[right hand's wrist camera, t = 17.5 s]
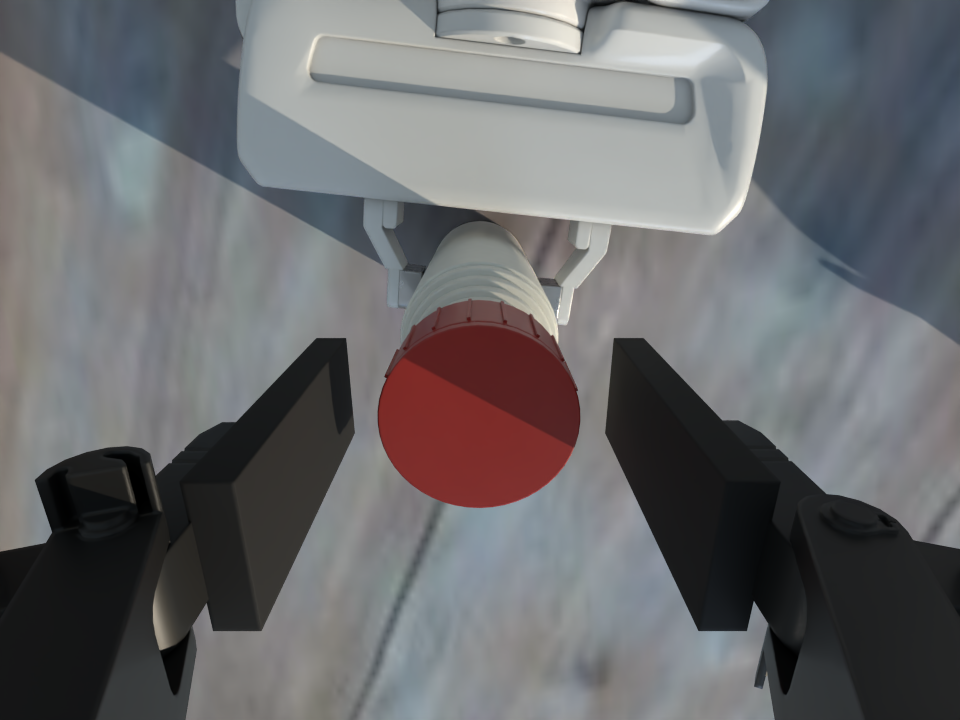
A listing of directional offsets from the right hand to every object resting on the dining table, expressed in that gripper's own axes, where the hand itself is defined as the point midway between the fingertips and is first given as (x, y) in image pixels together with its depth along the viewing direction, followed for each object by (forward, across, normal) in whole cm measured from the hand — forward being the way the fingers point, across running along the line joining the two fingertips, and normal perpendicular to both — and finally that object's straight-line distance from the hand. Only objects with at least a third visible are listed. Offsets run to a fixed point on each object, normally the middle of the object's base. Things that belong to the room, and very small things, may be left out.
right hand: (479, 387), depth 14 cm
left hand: (+11, 0, -1) cm, 11 cm away
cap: (-2, 0, 0) cm, 2 cm away
